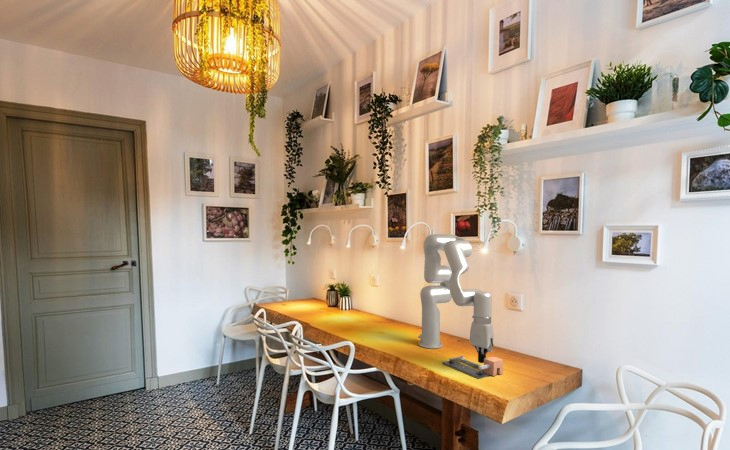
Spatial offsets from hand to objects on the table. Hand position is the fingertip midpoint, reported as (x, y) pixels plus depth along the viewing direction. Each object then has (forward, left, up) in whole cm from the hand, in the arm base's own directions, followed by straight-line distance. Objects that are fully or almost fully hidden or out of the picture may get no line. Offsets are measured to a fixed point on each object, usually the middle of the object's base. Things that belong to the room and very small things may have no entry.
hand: (481, 362), depth 166 cm
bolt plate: (-3, -8, -3) cm, 9 cm away
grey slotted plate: (-3, -4, -3) cm, 6 cm away
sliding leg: (+6, -3, -3) cm, 7 cm away
